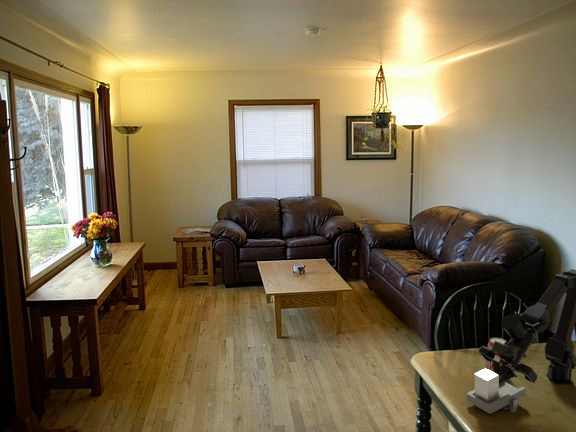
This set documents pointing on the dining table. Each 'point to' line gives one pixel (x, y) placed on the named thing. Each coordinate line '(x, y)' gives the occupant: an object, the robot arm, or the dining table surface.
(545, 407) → the dining table surface
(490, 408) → the grey tray
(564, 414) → the dining table surface
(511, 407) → the fulcrum
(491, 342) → the soda can
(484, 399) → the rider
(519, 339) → the robot arm
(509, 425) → the dining table surface
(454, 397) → the dining table surface
